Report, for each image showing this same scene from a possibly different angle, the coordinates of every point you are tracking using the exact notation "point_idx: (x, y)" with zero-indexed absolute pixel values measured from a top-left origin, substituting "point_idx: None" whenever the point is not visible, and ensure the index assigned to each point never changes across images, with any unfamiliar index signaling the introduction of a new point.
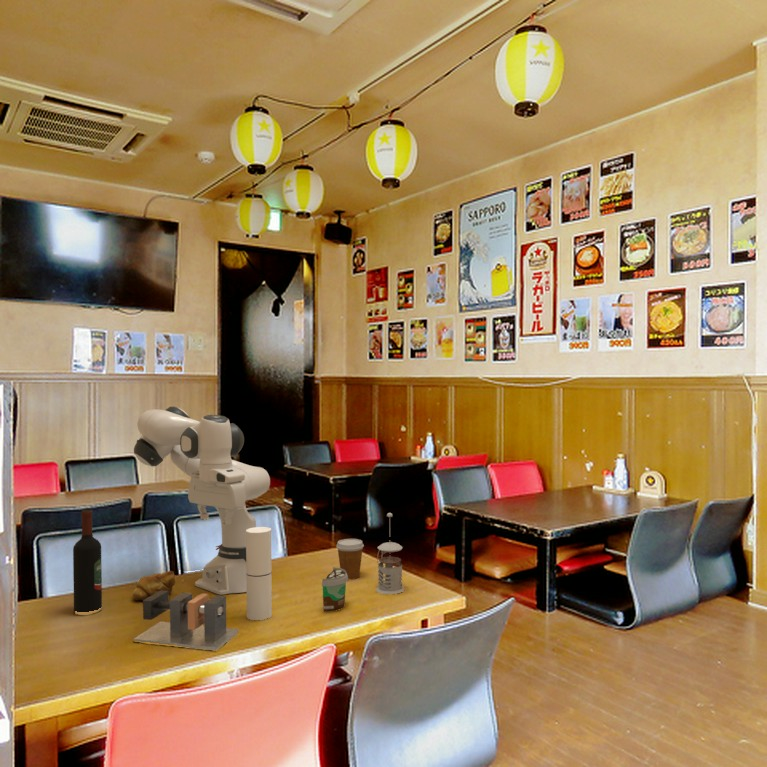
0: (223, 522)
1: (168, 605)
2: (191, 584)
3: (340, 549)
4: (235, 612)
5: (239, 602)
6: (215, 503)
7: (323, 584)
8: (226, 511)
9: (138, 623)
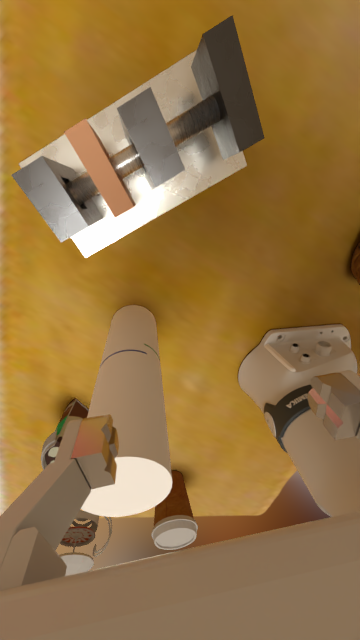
0: (98, 422)
1: (180, 115)
2: (352, 324)
3: (175, 517)
4: (180, 306)
5: (214, 334)
6: (174, 637)
7: (53, 435)
8: (12, 548)
9: (292, 135)
